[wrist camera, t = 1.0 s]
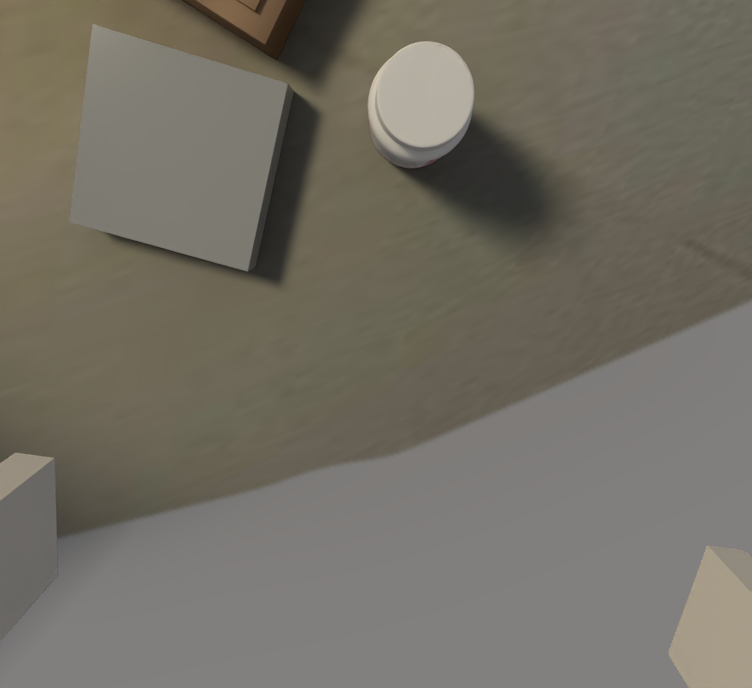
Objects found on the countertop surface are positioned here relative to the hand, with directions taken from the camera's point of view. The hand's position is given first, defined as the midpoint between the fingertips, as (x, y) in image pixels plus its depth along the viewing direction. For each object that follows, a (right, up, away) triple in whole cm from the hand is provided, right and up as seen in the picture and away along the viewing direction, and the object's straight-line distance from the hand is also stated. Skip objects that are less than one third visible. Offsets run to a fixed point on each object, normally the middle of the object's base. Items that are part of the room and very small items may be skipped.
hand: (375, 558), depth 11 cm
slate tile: (-11, +15, +19) cm, 26 cm away
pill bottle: (+2, +17, +19) cm, 25 cm away
